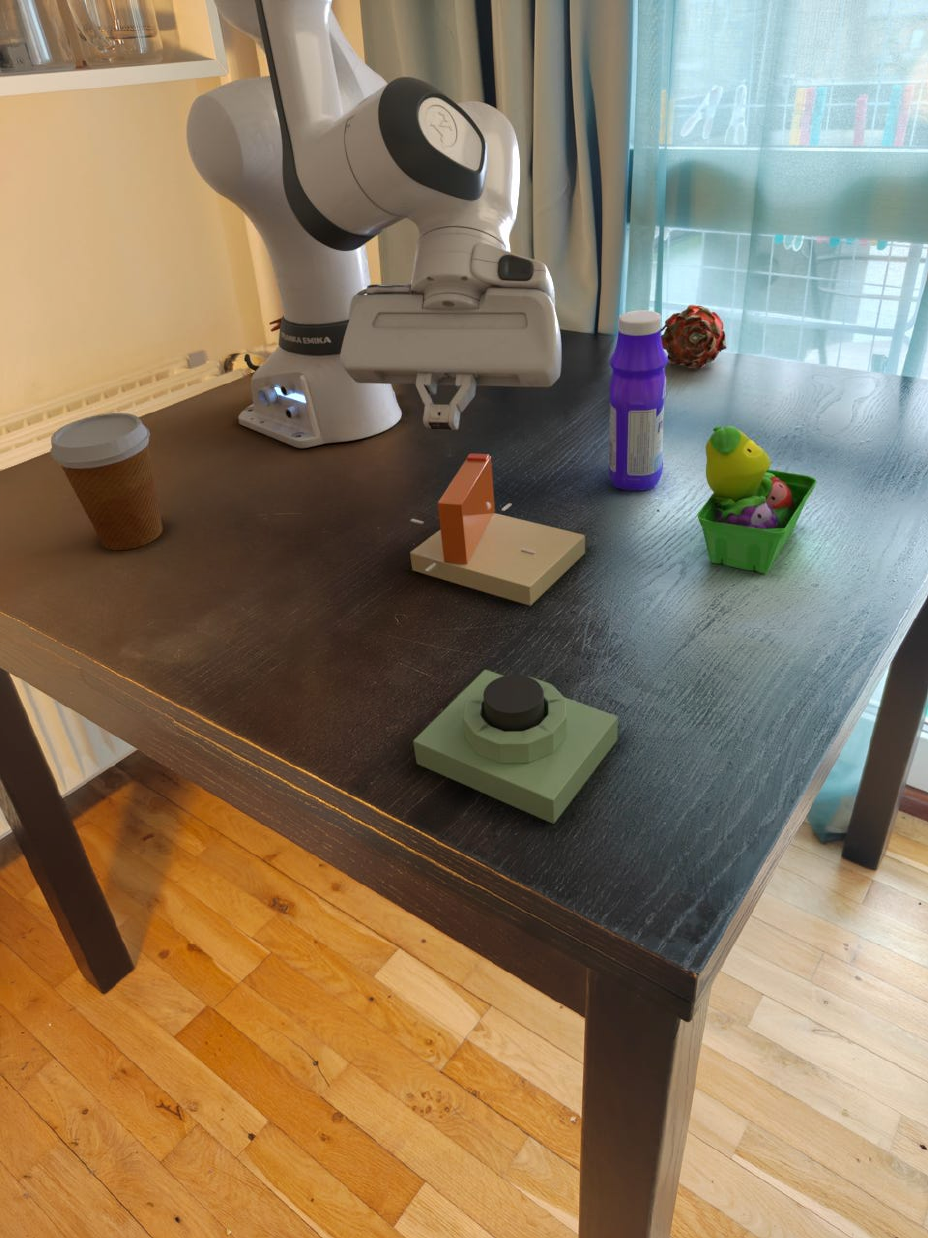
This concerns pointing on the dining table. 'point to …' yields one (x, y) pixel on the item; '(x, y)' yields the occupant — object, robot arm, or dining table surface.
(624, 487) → the bottle
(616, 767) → the dining table surface
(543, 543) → the beige rectangular board
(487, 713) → the button
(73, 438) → the disposable coffee cup
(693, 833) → the dining table surface
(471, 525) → the orange block
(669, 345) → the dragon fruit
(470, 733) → the button box
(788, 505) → the fruit basket
